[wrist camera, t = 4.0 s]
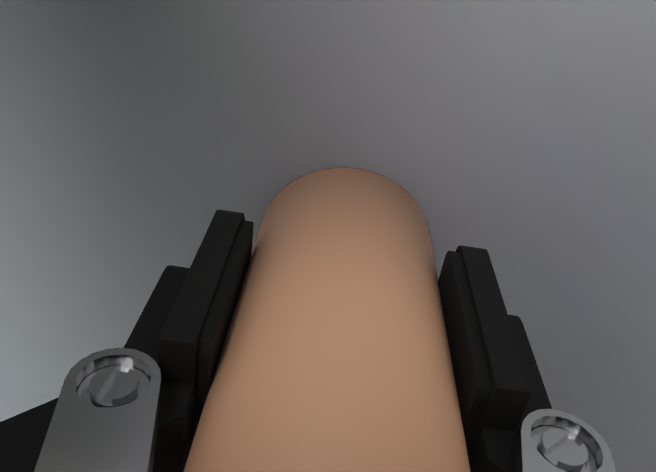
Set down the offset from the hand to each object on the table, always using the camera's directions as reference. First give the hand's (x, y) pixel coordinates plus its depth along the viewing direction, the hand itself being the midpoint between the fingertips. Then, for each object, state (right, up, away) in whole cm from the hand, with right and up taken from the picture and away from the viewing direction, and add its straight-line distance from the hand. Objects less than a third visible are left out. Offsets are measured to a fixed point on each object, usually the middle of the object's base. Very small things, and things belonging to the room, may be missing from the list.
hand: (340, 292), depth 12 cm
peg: (0, +1, +2) cm, 2 cm away
